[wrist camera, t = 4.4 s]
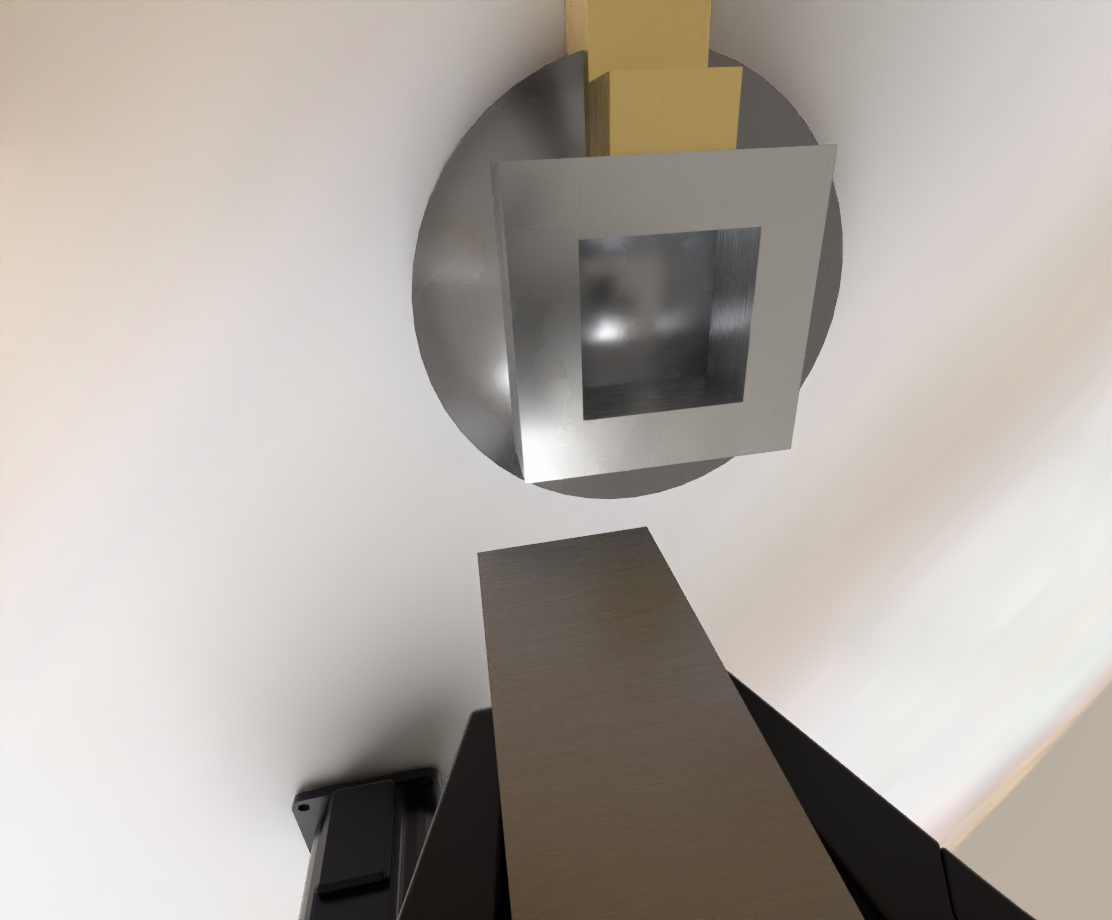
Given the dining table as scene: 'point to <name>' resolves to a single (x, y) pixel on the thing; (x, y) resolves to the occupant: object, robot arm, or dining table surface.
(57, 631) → the dining table surface
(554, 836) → the wedge pin
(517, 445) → the rosette
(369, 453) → the dining table surface
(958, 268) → the dining table surface
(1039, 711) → the dining table surface
